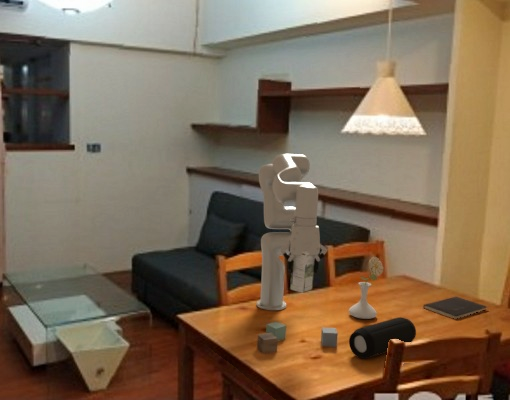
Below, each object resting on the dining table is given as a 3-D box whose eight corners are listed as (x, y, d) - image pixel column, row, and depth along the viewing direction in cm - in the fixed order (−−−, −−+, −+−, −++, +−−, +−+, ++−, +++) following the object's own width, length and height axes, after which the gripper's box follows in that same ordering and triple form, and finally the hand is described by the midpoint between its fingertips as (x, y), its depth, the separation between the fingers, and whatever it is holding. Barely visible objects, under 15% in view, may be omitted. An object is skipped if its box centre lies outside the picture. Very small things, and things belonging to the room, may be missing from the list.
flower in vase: (356, 322, 210) (360, 260, 206) (343, 312, 221) (347, 253, 217) (385, 320, 213) (390, 259, 210) (371, 310, 224) (376, 252, 221)
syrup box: (299, 286, 188) (301, 246, 185) (313, 289, 184) (315, 249, 182) (289, 289, 183) (291, 248, 181) (303, 293, 179) (306, 251, 177)
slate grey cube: (320, 340, 190) (321, 327, 190) (334, 341, 190) (335, 328, 190) (322, 346, 185) (323, 332, 185) (336, 347, 185) (337, 333, 185)
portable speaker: (368, 364, 172) (370, 335, 171) (345, 353, 180) (347, 325, 179) (416, 348, 188) (419, 321, 186) (394, 338, 195) (396, 312, 194)
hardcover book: (486, 311, 231) (487, 306, 231) (455, 321, 218) (456, 315, 217) (454, 300, 244) (454, 296, 244) (423, 309, 231) (423, 304, 230)
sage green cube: (265, 337, 191) (266, 324, 190) (276, 334, 194) (276, 321, 194) (275, 342, 187) (275, 328, 187) (285, 339, 190) (286, 325, 190)
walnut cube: (257, 348, 181) (257, 334, 181) (270, 346, 183) (271, 332, 183) (263, 354, 177) (264, 340, 176) (276, 352, 179) (277, 338, 178)
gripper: (282, 223, 175) (279, 275, 177) (333, 224, 178) (330, 274, 180) (278, 219, 182) (275, 268, 185) (326, 220, 185) (323, 268, 188)
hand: (302, 271), depth 183 cm, fingers closed on syrup box, 8 cm apart
